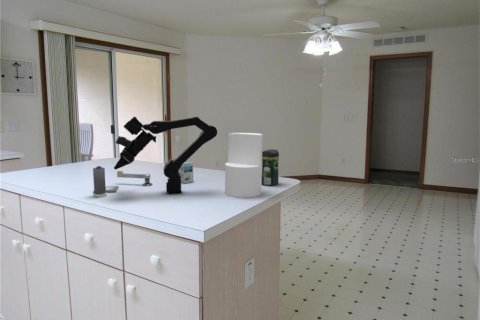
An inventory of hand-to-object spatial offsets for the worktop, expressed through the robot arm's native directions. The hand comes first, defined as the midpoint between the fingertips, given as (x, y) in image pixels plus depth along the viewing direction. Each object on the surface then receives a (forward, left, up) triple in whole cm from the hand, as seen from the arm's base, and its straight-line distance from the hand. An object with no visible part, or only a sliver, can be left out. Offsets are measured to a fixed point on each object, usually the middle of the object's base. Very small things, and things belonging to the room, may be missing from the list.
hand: (115, 167), depth 156 cm
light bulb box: (-31, -25, -13) cm, 42 cm away
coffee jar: (-76, -11, -13) cm, 78 cm away
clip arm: (-6, -21, -9) cm, 24 cm away
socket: (+6, -10, -13) cm, 17 cm away
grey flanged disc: (-13, -18, -13) cm, 26 cm away
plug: (+7, 0, -13) cm, 15 cm away
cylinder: (-58, +5, -13) cm, 60 cm away
